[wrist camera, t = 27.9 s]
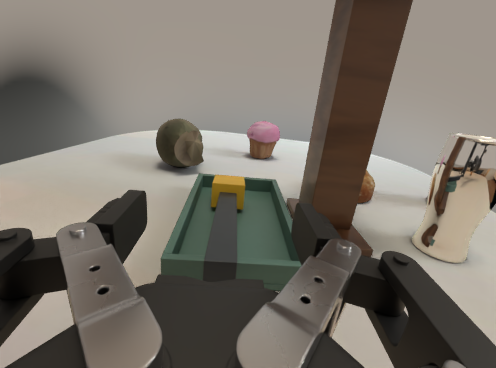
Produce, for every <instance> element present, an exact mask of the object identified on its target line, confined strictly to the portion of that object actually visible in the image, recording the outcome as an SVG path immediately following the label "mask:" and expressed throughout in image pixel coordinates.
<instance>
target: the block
mask: <svg viewBox="0 0 496 368" xmlns="http://www.w3.org/2000/svg"><path fill="white" fill-rule="evenodd" d="M244 194H245V180H244V177H238V176H226V175H215V177H214V180H213V183H212V196H211V207H215V208H216V210H215V215H214V219H213V223H212V228H211V232H210V236H209V241H208V245H207V249H206V254H205V258H204V267H203V281H207V282H217V281H224V280H232V279H236V272H237V209H242V210H243V205H244Z"/></svg>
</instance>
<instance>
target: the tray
mask: <svg viewBox="0 0 496 368" xmlns="http://www.w3.org/2000/svg"><path fill="white" fill-rule="evenodd" d="M214 177H215V175H211V174H199V175H198V177H197V179H196V181H195V184H194V186H193V188H192V190H191V192H190V195H189V197H188V199H187V201H186V204H185V206H184V208H183V210H182V212H181V215H180V217H179V219H178V221H177V223H176V226H175V228H174V230H173V232H172V235H171V237H170V239H169V241H168V243H167V246H166V248H165V250H164V252H163V255H162V257H161V275H176V276H187V277H191V278H195V279H199V280H203V267H204V258H205V254H206V249H207V245H208V241H209V236H210V232H211V228H212V223H213V219H214V215H215V210H216V208H215V207H211V196H212V183H213V180H214ZM244 180H245V194H244V205H243V210H242V209H237V272H236V279H255V280H263V283H264V288H267V289H270V290H273V291H281V290H282V289H283V288H284V287H285V285H286V284H287V283H288V282H289V281H290V279H291V278H292V277H293V276H294V274H295V273H296V272H297V271H298V270H299V268H300V267H301V263H300V260H299V258H298V255H297V252H296V249H295V247H294V244H293V241H292V237H291V229H292V223H293V221H292V219H291V216H290V214H289V211H288V209H287V206H286V204H285V201H284V199H283V197H282V194H281V192H280V189H279V187H278V184H277V182H276V180H273V179H260V178H248V177H244Z"/></svg>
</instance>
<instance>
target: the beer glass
mask: <svg viewBox="0 0 496 368" xmlns="http://www.w3.org/2000/svg"><path fill="white" fill-rule="evenodd" d="M495 204H496V138H491V137H485V136H477V135H469V134H461V133H450V134H449V137H448V139H447V141H446V143H445V145H444V147H443V149H442V151H441V153H440V155H439V158H438V160H437V163H436V165H435V168H434V171H433V174H432V178H431V182H430V188H429V194H428V201H427V207H426V212H425V216H424V219H423V221H422V223H421V225H420V227H419V228H418V230H417V231H416V233H415V234H414V236H413V238H412V242H413V244H414V245H415V246H416V247H417V248H418V249H419V250H421V251H422V252H424V253H426V254H427V255H429V256H432V257H434V258H436V259H439V260H442V261H446V262H451V263H461V262H464V261H465V260H466V258H467V254H468V248H469V243H470V240H471V238H472V235H473V233H474V232H475V230H476V228H477V227H478V226H479V224H480V223H481V222H482V220H483V219H484V218H485V217H486V215H487V214H488V213H489V212H490V210H491V209H492V208H493V207H494V205H495Z"/></svg>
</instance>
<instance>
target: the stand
mask: <svg viewBox="0 0 496 368" xmlns="http://www.w3.org/2000/svg"><path fill="white" fill-rule="evenodd" d="M412 1H413V0H336V3H335V8H334V14H333V19H332V24H331V30H330V35H329V41H328V46H327V52H326V57H325V63H324V68H323V73H322V79H321V84H320V89H319V95H318V100H317V106H316V111H315V116H314V122H313V127H312V133H311V138H310V143H309V149H308V154H307V160H306V165H305V170H304V176H303V181H302V187H301V192H300V197H299V199H292V198H287V206H288V208H289V210H290V213H291V215H292V217H293V218H294V212H295V207H296V204H297V203H311V204H312V205H313V207H314V208H315V210H316V212H317V213H321V214H323V215H324V216H326V217H327V218H328V219H329V221H330V222H331V224H332V225H333V227H334V229H336V231H337V232H338V234H339V235H340V237H341V238H342V239H344V240H347V241H350V242H352V243H354V244H355V245H357V246H358V247H359V248H360V250H361V255H363V256H369V257H371V255H372V252H373V249H372V248H371V247H370V246H369V245H368V243H367V242H366V241H365V240H364V239H363V237H362V236H361V235H360V234H359V233H358V231H357V230H356V229H355V228H354V227H353V225H352V220H353V216H354V213H355V209H356V205H357V202H358V198H359V195H360V191H361V187H362V184H363V180H364V176H365V173H366V169H367V165H368V162H369V158H370V154H371V151H372V147H373V143H374V140H375V136H376V133H377V129H378V125H379V122H380V118H381V114H382V111H383V107H384V103H385V100H386V96H387V92H388V89H389V85H390V82H391V78H392V74H393V71H394V67H395V63H396V60H397V56H398V52H399V49H400V45H401V41H402V38H403V34H404V30H405V27H406V23H407V20H408V16H409V12H410V9H411V5H412Z"/></svg>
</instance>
